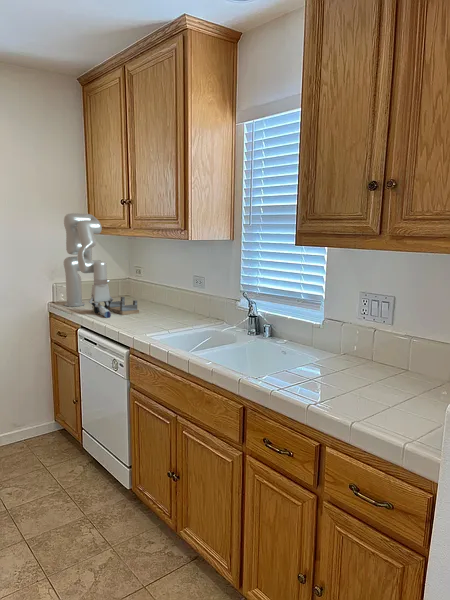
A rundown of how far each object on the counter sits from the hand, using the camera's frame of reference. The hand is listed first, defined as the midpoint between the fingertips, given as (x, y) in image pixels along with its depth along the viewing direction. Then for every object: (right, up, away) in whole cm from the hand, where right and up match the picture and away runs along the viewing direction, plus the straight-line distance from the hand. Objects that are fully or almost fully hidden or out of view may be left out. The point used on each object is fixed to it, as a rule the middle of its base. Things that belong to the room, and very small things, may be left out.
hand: (101, 312), depth 270 cm
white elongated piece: (0, -1, 0) cm, 1 cm away
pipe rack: (+11, 0, +9) cm, 14 cm away
